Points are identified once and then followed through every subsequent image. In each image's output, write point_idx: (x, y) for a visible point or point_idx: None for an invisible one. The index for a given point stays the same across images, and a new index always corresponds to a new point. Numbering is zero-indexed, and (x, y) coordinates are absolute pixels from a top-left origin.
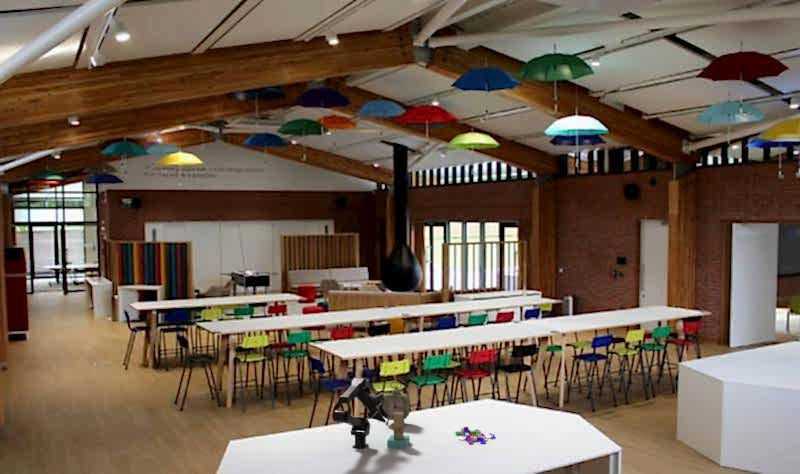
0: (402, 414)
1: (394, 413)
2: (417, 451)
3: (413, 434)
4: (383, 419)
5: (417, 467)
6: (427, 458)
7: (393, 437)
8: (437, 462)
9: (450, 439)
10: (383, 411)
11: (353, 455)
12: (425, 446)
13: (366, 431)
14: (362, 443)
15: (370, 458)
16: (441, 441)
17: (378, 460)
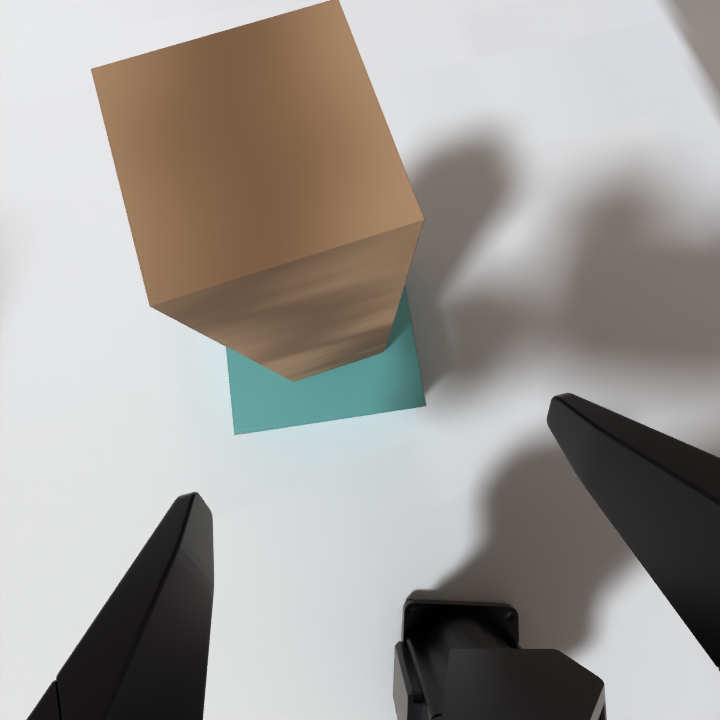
0: (346, 23)
1: (332, 230)
2: (425, 164)
3: (3, 308)
4: (642, 438)
5: (708, 91)
6: (536, 72)
7: (307, 382)
8: (581, 5)
9: (94, 13)
10: (138, 692)
11: None
12: None
13: (562, 690)
14: (509, 647)
15: (690, 444)
16: None
17: (702, 368)
